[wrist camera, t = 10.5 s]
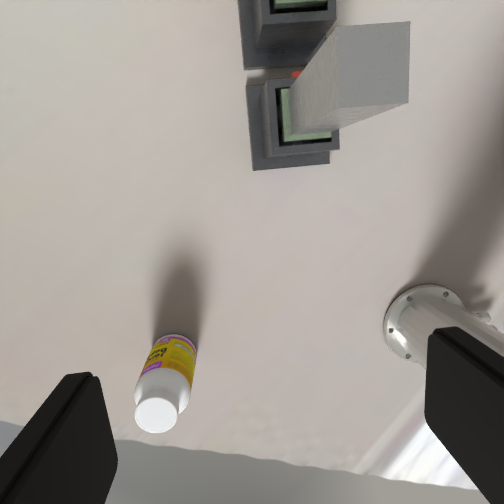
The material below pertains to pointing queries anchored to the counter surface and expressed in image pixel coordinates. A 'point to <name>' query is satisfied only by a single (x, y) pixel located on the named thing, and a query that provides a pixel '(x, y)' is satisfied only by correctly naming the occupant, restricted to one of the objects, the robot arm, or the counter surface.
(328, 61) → the column
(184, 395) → the supplement bottle
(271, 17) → the twin stand
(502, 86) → the counter surface
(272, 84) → the stand sleeve
